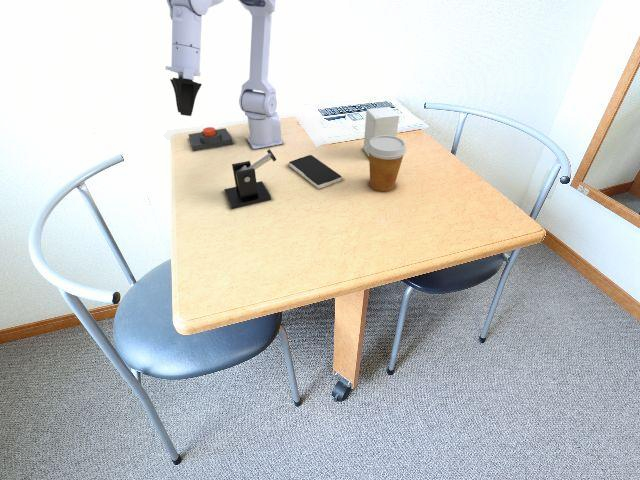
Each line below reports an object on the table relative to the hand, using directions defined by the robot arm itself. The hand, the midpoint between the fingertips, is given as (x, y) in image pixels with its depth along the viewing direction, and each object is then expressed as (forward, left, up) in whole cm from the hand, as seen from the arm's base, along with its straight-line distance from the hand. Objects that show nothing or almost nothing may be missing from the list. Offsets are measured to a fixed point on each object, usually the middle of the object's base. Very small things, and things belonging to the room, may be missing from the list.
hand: (184, 114), depth 82 cm
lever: (-14, +7, -13) cm, 20 cm away
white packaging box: (-52, 0, -20) cm, 56 cm away
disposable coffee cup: (-44, +16, -20) cm, 51 cm away
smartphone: (-30, +3, -20) cm, 36 cm away
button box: (-7, -28, -20) cm, 35 cm away
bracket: (-10, +7, -20) cm, 24 cm away
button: (-7, -26, -17) cm, 31 cm away
